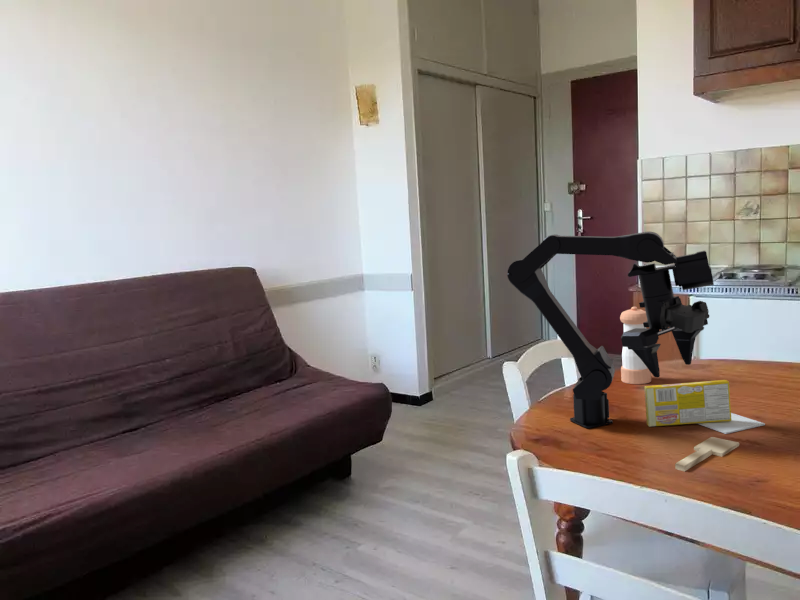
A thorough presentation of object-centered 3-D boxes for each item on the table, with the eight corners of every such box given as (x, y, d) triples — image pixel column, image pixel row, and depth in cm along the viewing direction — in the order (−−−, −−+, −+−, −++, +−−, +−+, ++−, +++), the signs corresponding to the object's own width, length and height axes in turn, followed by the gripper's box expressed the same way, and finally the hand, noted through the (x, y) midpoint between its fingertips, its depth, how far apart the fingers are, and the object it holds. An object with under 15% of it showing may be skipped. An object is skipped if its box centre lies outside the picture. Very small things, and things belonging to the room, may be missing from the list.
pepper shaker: (630, 375, 172) (628, 304, 169) (656, 379, 166) (654, 305, 164) (615, 381, 167) (613, 308, 164) (642, 385, 162) (640, 309, 159)
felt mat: (725, 434, 125) (725, 432, 125) (665, 412, 140) (665, 411, 140) (764, 424, 129) (764, 423, 129) (702, 404, 144) (702, 403, 144)
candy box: (727, 418, 132) (726, 378, 131) (732, 421, 130) (730, 381, 129) (645, 423, 134) (643, 384, 133) (648, 427, 132) (646, 387, 131)
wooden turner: (694, 474, 109) (694, 468, 108) (666, 466, 112) (665, 461, 112) (739, 445, 119) (739, 440, 119) (711, 439, 123) (711, 434, 123)
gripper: (658, 303, 117) (674, 387, 118) (724, 281, 126) (739, 359, 127) (612, 305, 127) (628, 382, 128) (676, 285, 136) (690, 357, 137)
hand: (672, 370), depth 130 cm, fingers open, 9 cm apart
